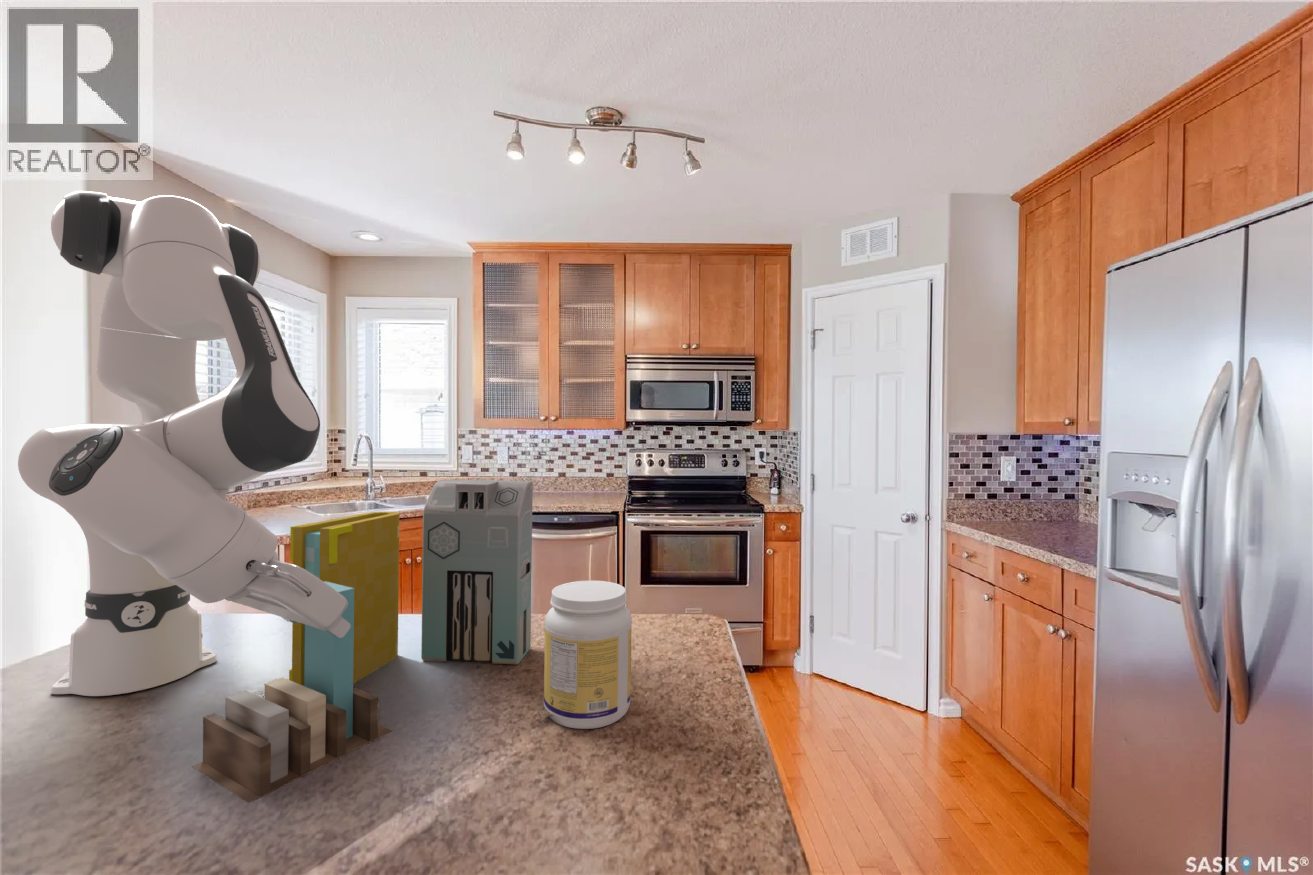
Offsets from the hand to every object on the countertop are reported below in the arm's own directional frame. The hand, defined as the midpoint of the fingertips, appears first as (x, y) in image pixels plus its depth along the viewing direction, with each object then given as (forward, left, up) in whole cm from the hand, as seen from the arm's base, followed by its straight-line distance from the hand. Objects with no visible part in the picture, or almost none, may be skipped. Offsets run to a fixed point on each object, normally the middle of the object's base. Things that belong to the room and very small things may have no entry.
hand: (320, 624), depth 68 cm
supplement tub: (+12, +31, -16) cm, 36 cm away
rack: (+1, -2, -15) cm, 16 cm away
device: (-16, +27, -16) cm, 35 cm away
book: (-18, +8, -15) cm, 25 cm away
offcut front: (+2, -6, -14) cm, 15 cm away
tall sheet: (0, +1, -14) cm, 14 cm away
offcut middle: (+1, -3, -14) cm, 14 cm away
